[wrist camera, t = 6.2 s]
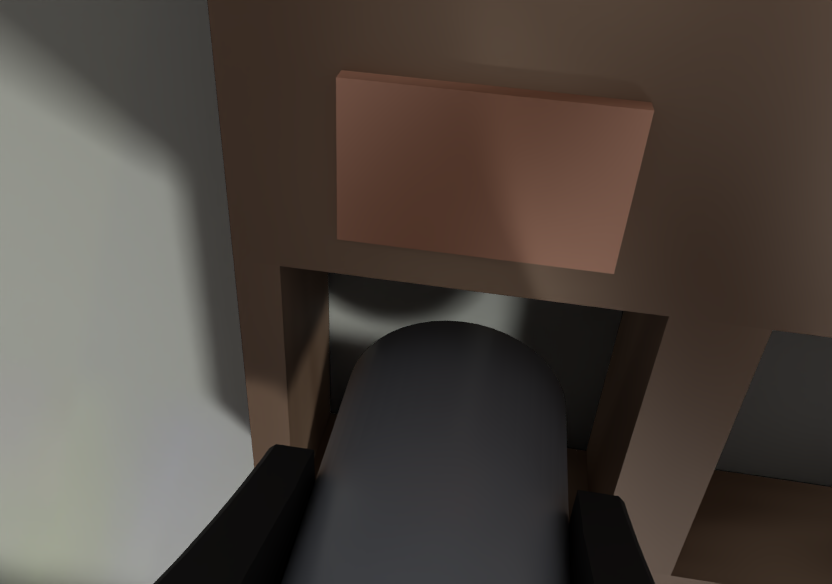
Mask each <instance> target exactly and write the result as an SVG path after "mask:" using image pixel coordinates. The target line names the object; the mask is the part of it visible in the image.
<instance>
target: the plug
mask: <svg viewBox="0 0 832 584" xmlns="http://www.w3.org/2000/svg"><path fill="white" fill-rule="evenodd" d="M281 584H570V554H569V510H568V470H567V429H566V403H565V398H564V394H563V390H562V388H561V385H560V383H559V381H558V379H557V377H556V375H555V374H554V372H553V371H552V369H551V368H550V367H549V366H548V364H547V363H546V362H545V361H544V360H543V359H542V358H541V357H540V356H539V355H538V354H537V353H536V352H535V351H533V350H532V349H531V348H529V347H528V346H527V345H525V344H524V343H522V342H521V341H519V340H517V339H515V338H513V337H511V336H510V335H508V334H505V333H503V332H500V331H498V330H495V329H493V328H489V327H486V326H482V325H479V324H473V323H467V322H459V321H431V322H424V323H417V324H414V325H410V326H406V327H403V328H400V329H398V330H395V331H393V332H391V333H389V334H387V335H385V336H384V337H382V338H380V339H379V340H377V341H376V342H375V343H373V344H372V345H371V346H370V347H369V348H368V349H367V350H366V351H365V352H364V353H363V354H362V355H361V357H360V358H359V360H358V361H357V363H356V364H355V366H354V369H353V371H352V373H351V376H350V379H349V382H348V385H347V388H346V391H345V394H344V397H343V400H342V403H341V406H340V409H339V412H338V415H337V418H336V421H335V424H334V427H333V430H332V433H331V436H330V439H329V442H328V445H327V448H326V450H325V453H324V456H323V459H322V462H321V465H320V468H319V471H318V474H317V477H316V480H315V483H314V486H313V489H312V492H311V495H310V498H309V501H308V504H307V507H306V510H305V513H304V516H303V519H302V522H301V525H300V528H299V531H298V534H297V537H296V540H295V543H294V546H293V549H292V552H291V555H290V558H289V561H288V564H287V567H286V570H285V573H284V576H283V579H282V582H281Z"/></svg>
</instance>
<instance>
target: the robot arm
mask: <svg viewBox="0 0 832 584" xmlns="http://www.w3.org/2000/svg"><path fill="white" fill-rule="evenodd" d="M314 483H315V466H314V450H312V449H306V448H299V447H293V446H286V445H279V444H275V445H274V446H272V447H270V448H269V449H268V451H267V452H266V453H265V455H264V456H263V457H262V459H261V460H260V461H259V463H258V464H257V465H256V467H255V468H254V469H253V471H252V472H251V473H250V475H249V476H248V477H247V478H246V480H245V481H244V482H243V483H242V485H241V486H240V487H239V488H238V490H237V491H236V492H235V493H234V495H233V496H232V497H231V498H230V499H229V501H228V502H227V503H226V504H225V505H224V507H223V508H222V509H221V510H220V511H219V513H218V514H217V515H216V516H215V517H214V518H213V520H212V521H211V522H210V523H209V524H208V525H207V526H206V527H205V529H204V530H203V531H202V532H201V533H200V534H199V535H198V537H197V538H196V539H195V540H194V541H193V542H192V543H191V544H190V546H189V547H188V548H187V549H186V550H185V551H184V552H183V553H182V555H181V556H180V557H179V558H178V559H177V560H176V561H175V562H174V563H173V564H172V565H171V566H170V567H169V568H168V569H167V570H166V571H165V572H164V573H163V574H162V575H161V576H160V577H159V579H158V580H157V581H156V582H155V583H154V584H281V582H282V579H283V576H284V573H285V570H286V567H287V564H288V561H289V558H290V555H291V552H292V549H293V546H294V543H295V540H296V537H297V534H298V531H299V528H300V525H301V522H302V519H303V516H304V513H305V510H306V507H307V504H308V501H309V498H310V495H311V492H312V489H313V486H314ZM569 554H570V584H655V582H654V579H653V577H652V575H651V572H650V570H649V567H648V565H647V563H646V560H645V558H644V555H643V553H642V550H641V548H640V545H639V542H638V540H637V537H636V534H635V532H634V529H633V526H632V523H631V520H630V518H629V515H628V512H627V509H626V505H625V502H624V501H623V500H622V499H621V498H620V497H619V496H615V495H609V494H602V493H596V492H589V491H582V490H577V494H576V498H575V502H574V505H573V509H572V513H571V517H570V520H569Z"/></svg>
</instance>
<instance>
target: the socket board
mask: <svg viewBox="0 0 832 584" xmlns="http://www.w3.org/2000/svg"><path fill="white" fill-rule="evenodd" d="M207 1H208V11H209V21H210V31H211V41H212V51H213V61H214V71H215V81H216V91H217V101H218V111H219V121H220V130H221V140H222V150H223V160H224V170H225V180H226V190H227V200H228V210H229V220H230V230H231V240H232V250H233V260H234V269H235V279H236V289H237V299H238V309H239V319H240V329H241V339H242V349H243V359H244V369H245V379H246V389H247V399H248V408H249V418H250V428H251V438H252V448H253V458H254V468H255V467H256V465H257V464H258V463H259V461H260V460H261V459H262V457H263V456H264V455H265V453H266V452H267V451H268V449H269V448H270V447H272V446H274V445H275V444H279V445H286V446H293V447H299V448H306V449H312V450H314V466H315V480H316V477H317V474H318V471H319V468H320V465H321V462H322V459H323V456H324V453H325V450H326V448H327V445H328V442H329V439H330V436H331V433H332V430H333V427H334V424H335V421H336V418H337V415H338V414H334V413H330V353H329V286H328V272H330V273H338V274H345V275H353V276H361V277H368V278H376V279H384V280H391V281H399V282H407V283H415V284H422V285H430V286H438V287H445V288H453V289H461V290H468V291H476V292H484V293H491V294H499V295H507V296H515V297H522V298H530V299H538V300H545V301H553V302H561V303H568V304H576V305H584V306H591V307H599V308H607V309H615V310H622V311H623V315H622V318H621V322H620V326H619V330H618V333H617V337H616V341H615V345H614V348H613V352H612V356H611V360H610V364H609V367H608V371H607V375H606V379H605V382H604V386H603V390H602V394H601V397H600V401H599V405H598V409H597V412H596V416H595V420H594V424H593V428H592V431H591V435H590V439H589V443H588V446H587V450H586V451H584V450H577V449H571V448H567V470H568V510H569V520H570V517H571V513H572V509H573V505H574V502H575V498H576V494H577V490H582V491H589V492H596V493H602V494H609V495H615V496H619V497H620V498H621V499H622V500H623V501H624V502H625V505H626V509H627V512H628V515H629V518H630V520H631V523H632V526H633V529H634V532H635V534H636V537H637V540H638V542H639V545H640V548H641V550H642V553H643V555H644V558H645V560H646V563H647V565H648V567H649V570H650V572H651V575H652V577H653V579H654V582H655V584H832V487H827V486H821V485H814V484H807V483H800V482H794V481H787V480H780V479H773V478H767V477H760V476H753V475H746V474H740V473H733V472H726V471H719V470H715V467H716V465H717V463H718V460H719V458H720V455H721V453H722V451H723V448H724V446H725V443H726V441H727V439H728V436H729V434H730V431H731V429H732V427H733V424H734V422H735V419H736V417H737V414H738V412H739V410H740V407H741V405H742V402H743V400H744V398H745V395H746V393H747V390H748V388H749V386H750V383H751V381H752V378H753V376H754V374H755V371H756V369H757V366H758V364H759V362H760V359H761V357H762V354H763V352H764V349H765V347H766V345H767V342H768V340H769V337H770V335H771V333H772V330H776V331H784V332H791V333H799V334H807V335H814V336H822V337H830V338H832V0H207Z"/></svg>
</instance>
